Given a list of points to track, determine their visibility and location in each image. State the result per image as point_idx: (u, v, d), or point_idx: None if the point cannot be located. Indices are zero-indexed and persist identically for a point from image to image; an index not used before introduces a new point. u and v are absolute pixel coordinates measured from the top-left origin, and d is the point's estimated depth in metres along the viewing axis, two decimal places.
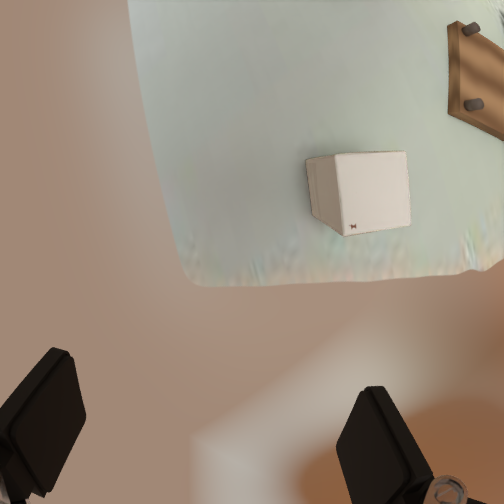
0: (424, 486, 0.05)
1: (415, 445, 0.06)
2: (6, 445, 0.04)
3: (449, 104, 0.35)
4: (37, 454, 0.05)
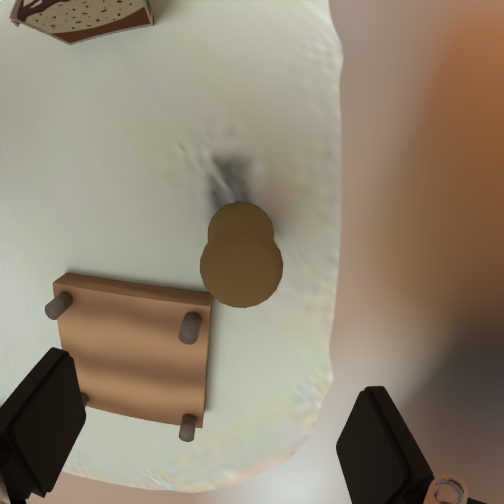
0: (424, 486, 0.05)
1: (415, 445, 0.06)
2: (6, 445, 0.04)
3: None
4: (37, 454, 0.05)
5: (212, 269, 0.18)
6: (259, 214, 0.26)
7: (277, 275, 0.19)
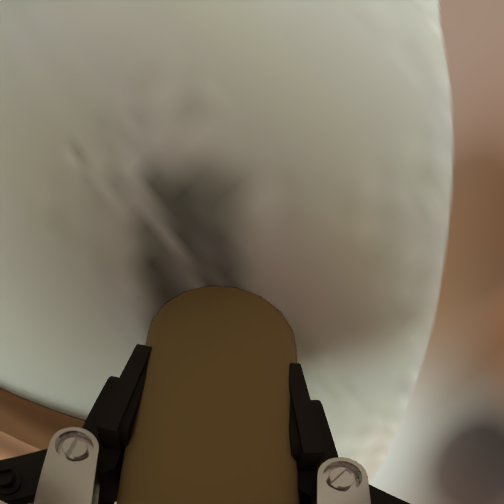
0: None
1: (313, 421, 0.07)
2: (111, 445, 0.06)
3: None
4: None
5: None
6: (265, 337, 0.09)
7: None
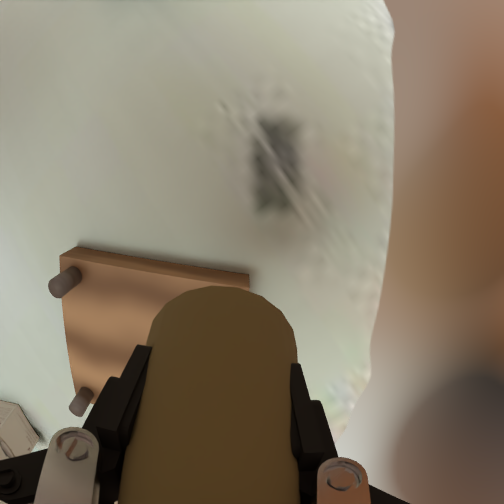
0: None
1: (313, 421, 0.07)
2: (111, 445, 0.06)
3: None
4: None
5: None
6: (266, 336, 0.09)
7: None
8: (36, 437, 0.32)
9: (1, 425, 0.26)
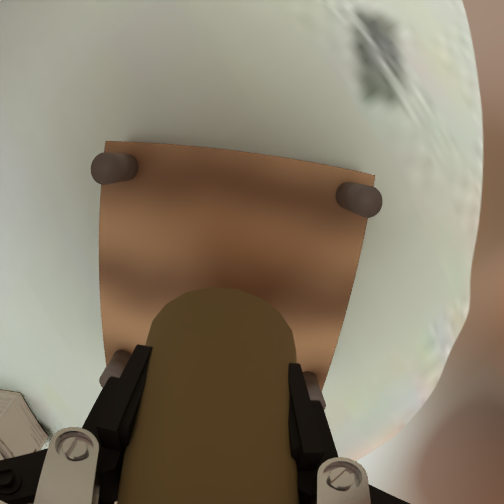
0: None
1: (313, 421, 0.07)
2: (111, 445, 0.06)
3: None
4: None
5: None
6: (265, 338, 0.09)
7: None
8: (44, 435, 0.26)
9: None
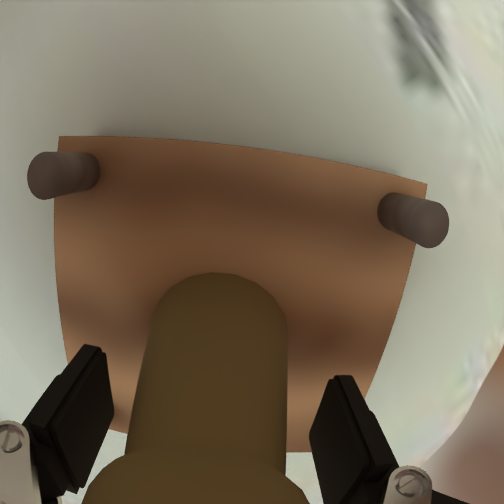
0: (388, 476, 0.06)
1: (378, 433, 0.06)
2: (45, 442, 0.05)
3: None
4: (74, 449, 0.06)
5: None
6: (258, 316, 0.11)
7: None
8: None
9: None
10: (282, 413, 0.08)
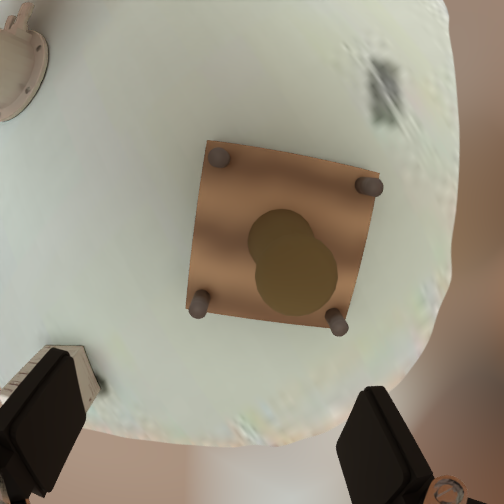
0: (424, 486, 0.05)
1: (415, 445, 0.06)
2: (6, 445, 0.04)
3: None
4: (37, 454, 0.05)
5: (271, 276, 0.18)
6: (304, 222, 0.26)
7: (334, 286, 0.18)
8: (97, 387, 0.36)
9: None
10: None
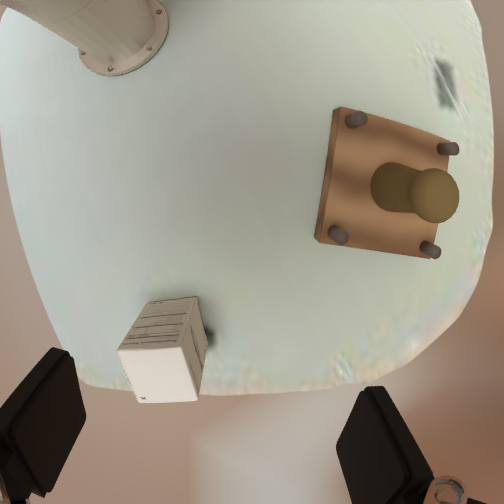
0: (424, 486, 0.05)
1: (415, 445, 0.06)
2: (6, 445, 0.04)
3: (316, 225, 0.38)
4: (37, 454, 0.05)
5: (429, 191, 0.24)
6: None
7: (458, 201, 0.24)
8: (206, 340, 0.41)
9: (189, 314, 0.35)
10: None
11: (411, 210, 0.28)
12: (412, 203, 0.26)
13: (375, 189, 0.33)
